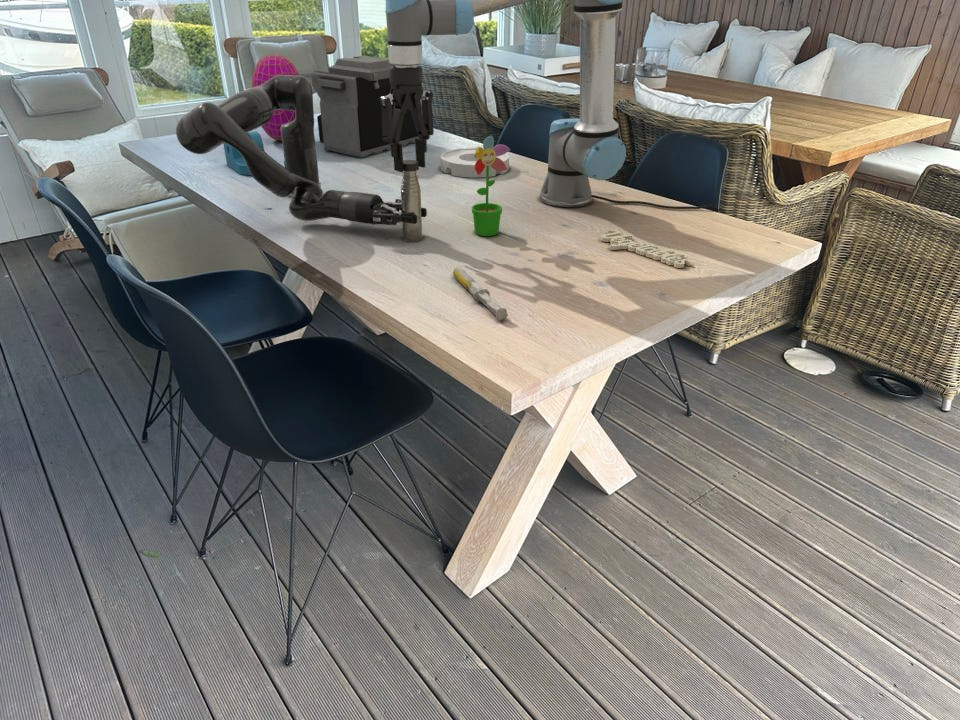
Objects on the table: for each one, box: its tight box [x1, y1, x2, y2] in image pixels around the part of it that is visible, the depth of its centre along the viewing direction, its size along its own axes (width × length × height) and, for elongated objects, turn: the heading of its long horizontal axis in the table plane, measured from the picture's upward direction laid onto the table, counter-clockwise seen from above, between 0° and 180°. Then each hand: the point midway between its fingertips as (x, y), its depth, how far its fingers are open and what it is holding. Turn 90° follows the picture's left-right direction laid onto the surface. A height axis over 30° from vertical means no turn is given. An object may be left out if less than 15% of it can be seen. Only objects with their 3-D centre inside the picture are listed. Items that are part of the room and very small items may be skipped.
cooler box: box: [310, 55, 419, 159], centre depth 250 cm, size 37×22×30 cm, turn 144°
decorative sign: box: [600, 229, 691, 269], centre depth 168 cm, size 26×1×10 cm
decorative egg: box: [251, 54, 301, 142], centre depth 257 cm, size 19×19×30 cm
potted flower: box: [471, 135, 511, 237], centre depth 172 cm, size 9×8×25 cm
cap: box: [403, 159, 420, 172], centre depth 165 cm, size 4×4×2 cm
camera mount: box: [222, 131, 265, 176], centre depth 226 cm, size 18×10×10 cm, turn 35°
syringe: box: [452, 266, 509, 321], centre depth 145 cm, size 25×4×3 cm, turn 21°
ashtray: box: [439, 147, 510, 178], centre depth 231 cm, size 23×23×4 cm
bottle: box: [400, 171, 423, 242], centre depth 170 cm, size 5×5×19 cm
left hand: (421, 215), depth 171 cm, fingers closed on bottle, 5 cm apart
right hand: (409, 168), depth 166 cm, fingers open, 6 cm apart
